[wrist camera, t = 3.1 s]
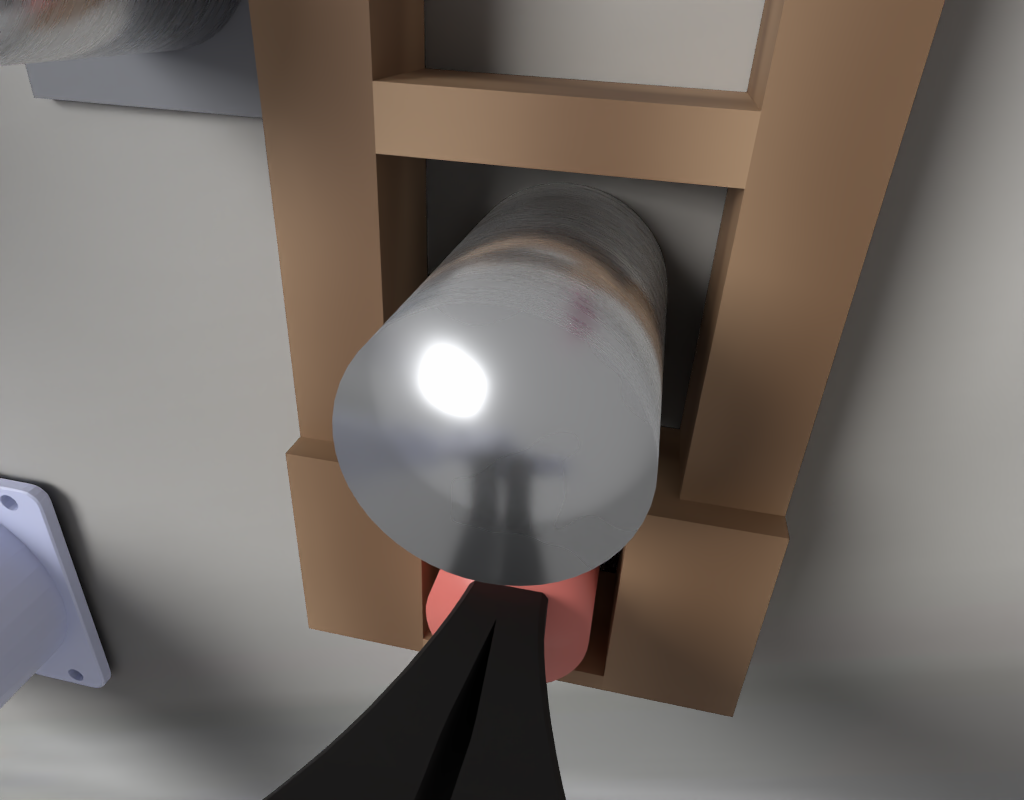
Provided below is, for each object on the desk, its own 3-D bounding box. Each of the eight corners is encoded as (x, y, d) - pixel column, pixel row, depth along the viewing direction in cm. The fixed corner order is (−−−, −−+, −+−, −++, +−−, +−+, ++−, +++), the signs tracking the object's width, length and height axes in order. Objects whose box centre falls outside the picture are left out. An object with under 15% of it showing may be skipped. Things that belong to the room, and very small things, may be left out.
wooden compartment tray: (362, 539, 18) (308, 628, 15) (290, -434, 9) (144, -598, 7) (724, 606, 16) (732, 716, 14) (1023, -467, 8) (1182, -688, 5)
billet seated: (460, 366, 15) (344, 556, 10) (463, 172, 13) (318, 283, 8) (650, 393, 14) (632, 611, 9) (684, 194, 12) (685, 330, 7)
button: (467, 562, 16) (426, 666, 14) (469, 454, 15) (424, 549, 12) (596, 586, 16) (579, 699, 13) (612, 478, 14) (597, 581, 12)
